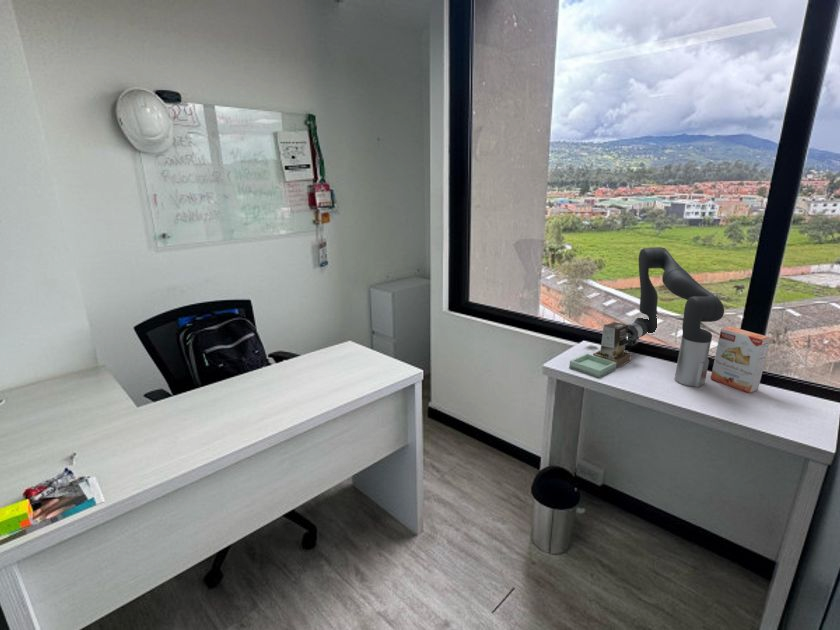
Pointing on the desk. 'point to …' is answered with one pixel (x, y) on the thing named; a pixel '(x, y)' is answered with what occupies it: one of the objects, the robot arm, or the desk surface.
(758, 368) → the cracker box
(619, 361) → the brown tray
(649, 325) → the robot arm
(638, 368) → the desk surface
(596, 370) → the sage tray
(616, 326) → the coffee box
